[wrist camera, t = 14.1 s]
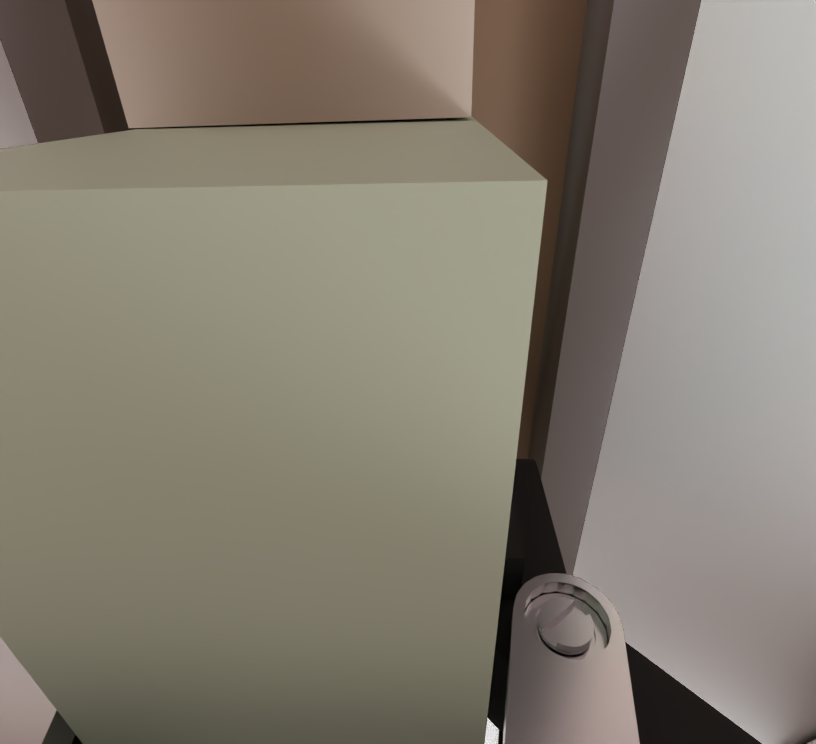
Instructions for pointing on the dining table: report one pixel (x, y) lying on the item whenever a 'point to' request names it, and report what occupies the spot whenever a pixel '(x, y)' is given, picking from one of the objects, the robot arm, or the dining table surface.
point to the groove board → (526, 136)
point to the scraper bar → (263, 426)
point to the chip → (288, 60)
